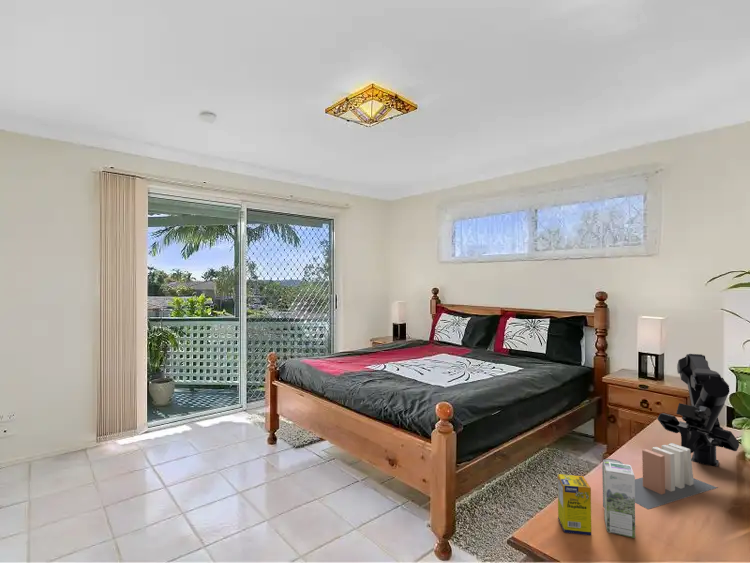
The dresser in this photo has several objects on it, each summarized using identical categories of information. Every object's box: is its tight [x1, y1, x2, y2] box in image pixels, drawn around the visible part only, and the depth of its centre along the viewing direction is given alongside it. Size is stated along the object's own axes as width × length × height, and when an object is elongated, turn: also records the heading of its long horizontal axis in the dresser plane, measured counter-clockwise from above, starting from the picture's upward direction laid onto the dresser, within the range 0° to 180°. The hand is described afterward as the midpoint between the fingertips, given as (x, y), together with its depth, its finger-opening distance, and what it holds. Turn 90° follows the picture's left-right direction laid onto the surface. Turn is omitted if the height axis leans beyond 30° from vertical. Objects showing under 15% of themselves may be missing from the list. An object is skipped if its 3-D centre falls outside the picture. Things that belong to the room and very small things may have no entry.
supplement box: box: [557, 473, 592, 536], centre depth 96 cm, size 6×6×11 cm
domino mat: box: [635, 476, 718, 510], centre depth 113 cm, size 28×12×1 cm, turn 112°
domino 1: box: [651, 446, 675, 491], centre depth 114 cm, size 2×5×10 cm, turn 22°
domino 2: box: [661, 444, 685, 489], centre depth 115 cm, size 2×5×10 cm, turn 22°
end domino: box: [641, 448, 665, 494], centre depth 112 cm, size 2×5×10 cm, turn 22°
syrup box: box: [603, 461, 636, 539], centre depth 95 cm, size 6×6×14 cm
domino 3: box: [667, 442, 694, 486], centre depth 116 cm, size 2×5×10 cm, turn 22°
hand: (683, 454), depth 116 cm, fingers closed
